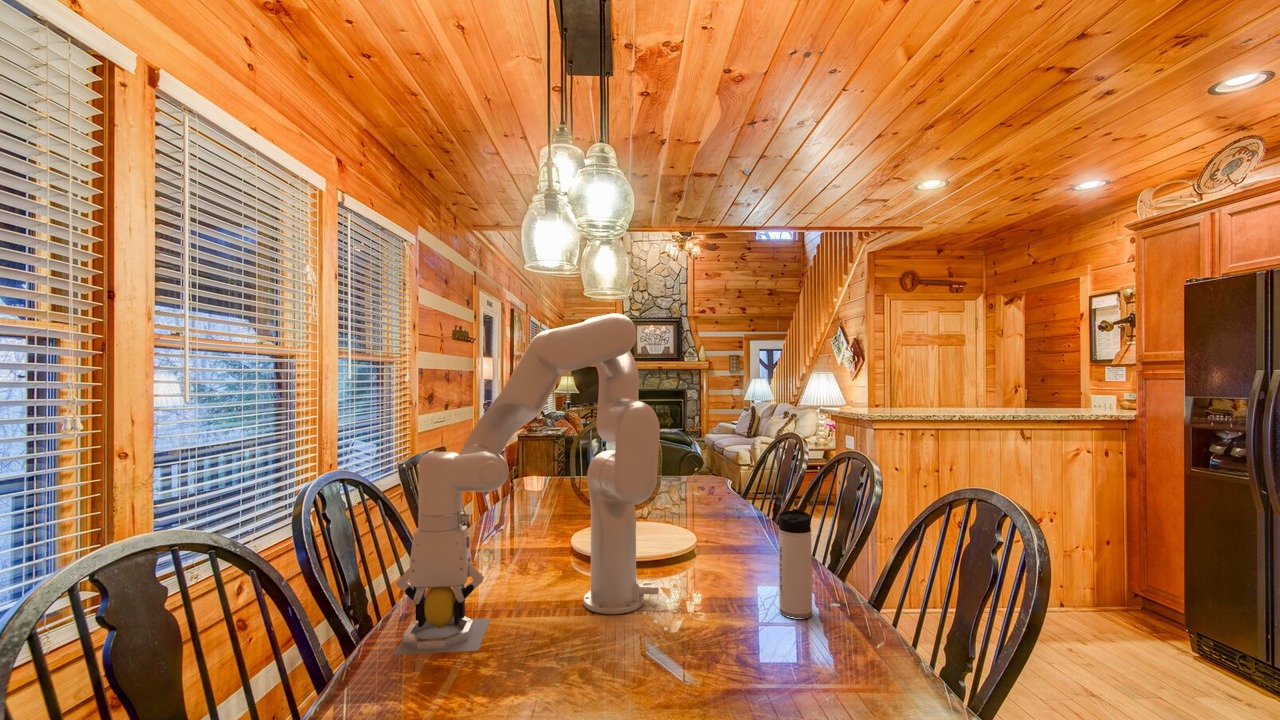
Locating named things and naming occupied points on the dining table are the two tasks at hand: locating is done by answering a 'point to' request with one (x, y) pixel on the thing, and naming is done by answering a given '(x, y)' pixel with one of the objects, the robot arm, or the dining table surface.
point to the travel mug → (795, 564)
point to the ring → (437, 643)
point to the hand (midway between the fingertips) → (440, 621)
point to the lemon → (439, 606)
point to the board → (446, 631)
